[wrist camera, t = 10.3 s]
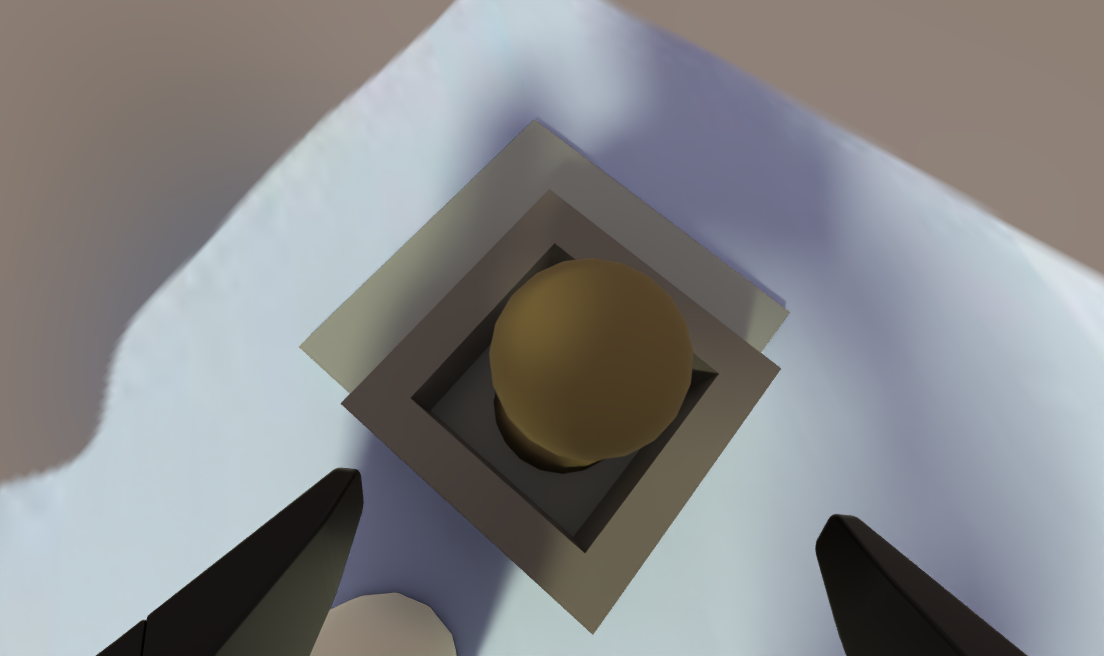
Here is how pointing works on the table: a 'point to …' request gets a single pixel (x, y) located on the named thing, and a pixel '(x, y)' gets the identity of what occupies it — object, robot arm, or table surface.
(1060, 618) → the table surface
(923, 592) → the robot arm
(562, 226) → the socket
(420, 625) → the foam cup
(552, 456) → the cork
